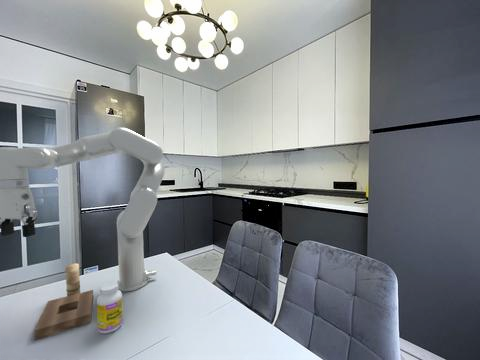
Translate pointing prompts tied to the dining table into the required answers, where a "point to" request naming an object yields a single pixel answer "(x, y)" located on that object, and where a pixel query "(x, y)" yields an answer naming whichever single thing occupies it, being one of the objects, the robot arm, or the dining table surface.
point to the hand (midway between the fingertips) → (18, 235)
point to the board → (65, 314)
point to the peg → (72, 279)
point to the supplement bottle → (109, 308)
